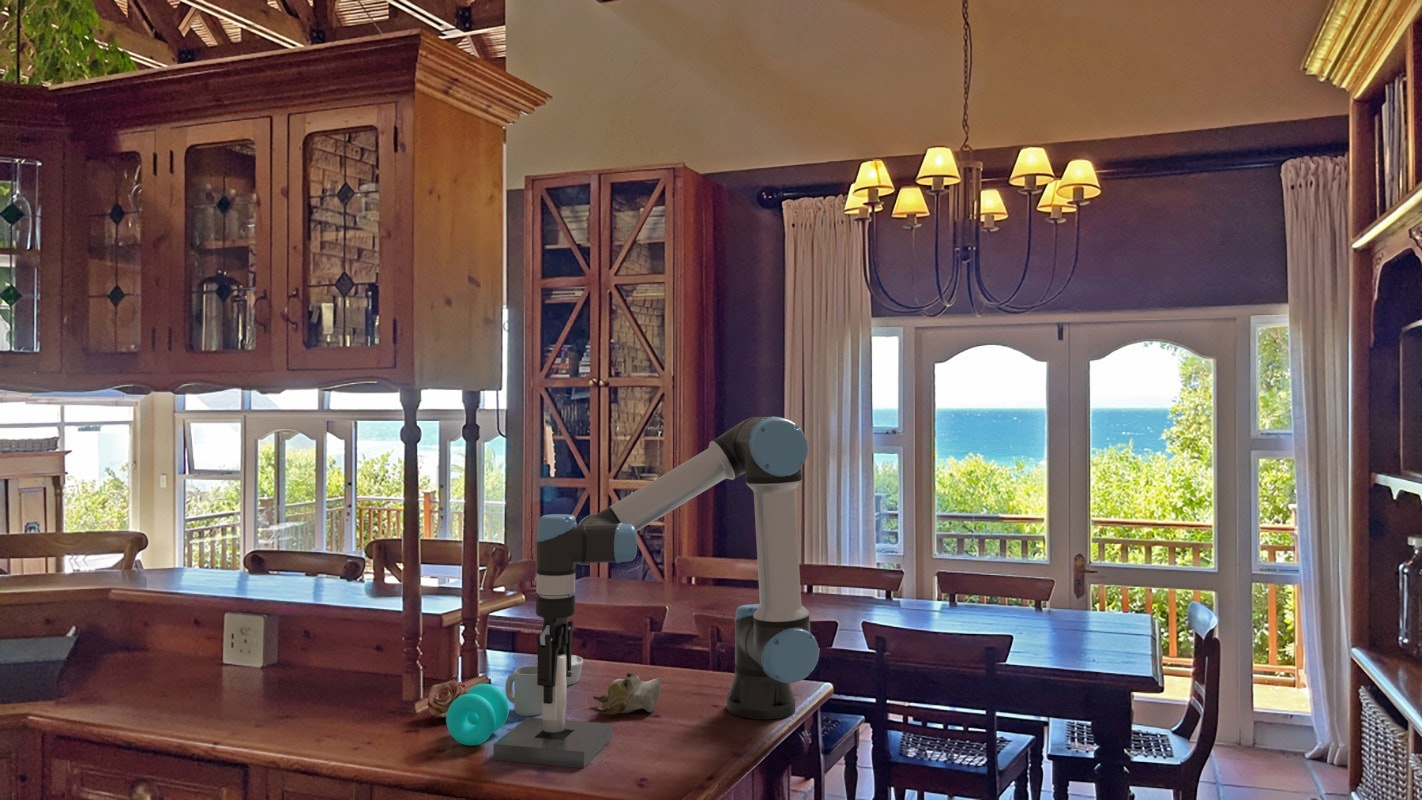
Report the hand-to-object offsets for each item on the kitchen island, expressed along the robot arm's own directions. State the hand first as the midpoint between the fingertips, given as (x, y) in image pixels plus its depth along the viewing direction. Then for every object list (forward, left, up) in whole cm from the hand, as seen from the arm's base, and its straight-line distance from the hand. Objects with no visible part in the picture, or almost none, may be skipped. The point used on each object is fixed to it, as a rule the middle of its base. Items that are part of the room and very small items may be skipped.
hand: (554, 714), depth 188 cm
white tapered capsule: (0, 0, -3) cm, 3 cm away
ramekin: (+16, -44, -7) cm, 47 cm away
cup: (+15, -21, -7) cm, 27 cm away
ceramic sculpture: (-7, -26, -7) cm, 27 cm away
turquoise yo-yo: (+17, -2, -7) cm, 18 cm away
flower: (+29, -12, -7) cm, 32 cm away
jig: (0, 0, -7) cm, 7 cm away
